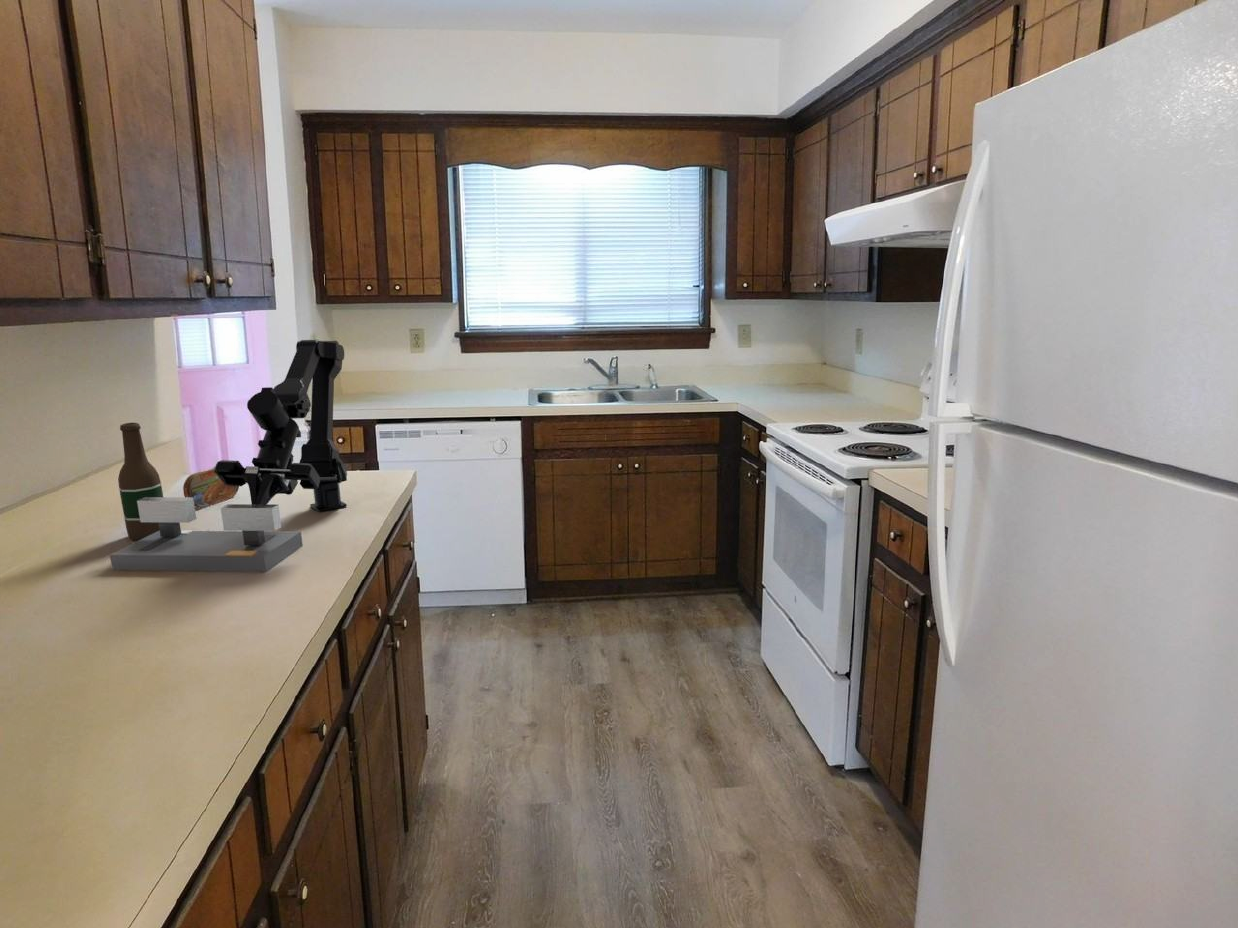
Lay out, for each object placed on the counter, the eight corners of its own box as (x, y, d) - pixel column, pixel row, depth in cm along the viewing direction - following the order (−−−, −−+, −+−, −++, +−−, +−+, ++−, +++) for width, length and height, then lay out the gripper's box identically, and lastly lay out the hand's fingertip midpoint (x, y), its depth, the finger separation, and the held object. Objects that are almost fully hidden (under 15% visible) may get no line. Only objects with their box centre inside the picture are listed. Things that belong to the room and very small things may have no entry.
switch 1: (151, 532, 158) (145, 497, 156) (198, 533, 157) (193, 497, 155) (143, 536, 156) (136, 500, 154) (191, 537, 155) (185, 500, 153)
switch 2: (233, 541, 152) (227, 504, 150) (283, 541, 151) (278, 504, 149) (226, 545, 149) (220, 507, 148) (276, 545, 148) (271, 508, 147)
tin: (194, 511, 184) (188, 476, 182) (183, 511, 185) (178, 476, 183) (242, 494, 198) (238, 461, 196) (232, 493, 199) (227, 461, 197)
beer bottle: (119, 538, 166) (98, 425, 160) (155, 527, 172) (136, 419, 167) (141, 543, 162) (121, 428, 156) (177, 532, 169) (159, 421, 163)
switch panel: (161, 544, 161) (158, 529, 160) (302, 545, 158) (300, 530, 157) (112, 569, 147) (109, 553, 147) (266, 571, 145) (263, 555, 144)
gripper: (336, 466, 165) (318, 534, 157) (248, 463, 165) (225, 530, 157) (319, 437, 155) (298, 507, 147) (225, 433, 156) (199, 503, 148)
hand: (255, 512), depth 150 cm, fingers closed
